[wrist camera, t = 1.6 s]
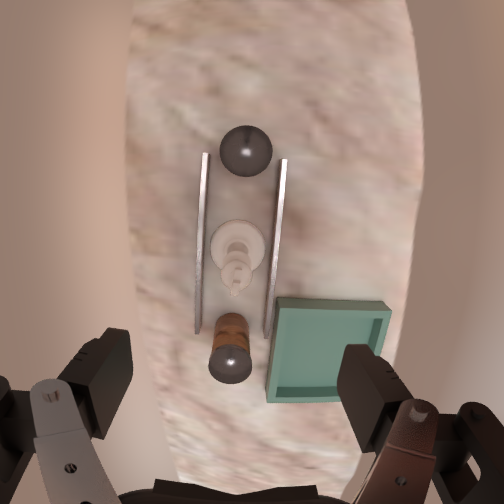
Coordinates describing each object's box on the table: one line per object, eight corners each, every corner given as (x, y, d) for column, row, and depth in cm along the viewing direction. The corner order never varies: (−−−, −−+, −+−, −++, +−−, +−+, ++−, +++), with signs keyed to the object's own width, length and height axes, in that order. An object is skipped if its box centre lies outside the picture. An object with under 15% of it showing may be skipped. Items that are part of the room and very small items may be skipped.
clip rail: (207, 135, 26) (196, 122, 19) (286, 141, 26) (300, 130, 19) (197, 339, 30) (187, 380, 24) (265, 344, 31) (271, 385, 24)
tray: (277, 297, 29) (280, 307, 27) (382, 301, 30) (392, 310, 28) (265, 388, 32) (266, 402, 30) (358, 387, 33) (365, 399, 30)
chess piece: (206, 268, 28) (189, 316, 19) (215, 215, 27) (200, 238, 18) (259, 277, 29) (268, 329, 19) (270, 225, 28) (286, 253, 18)
